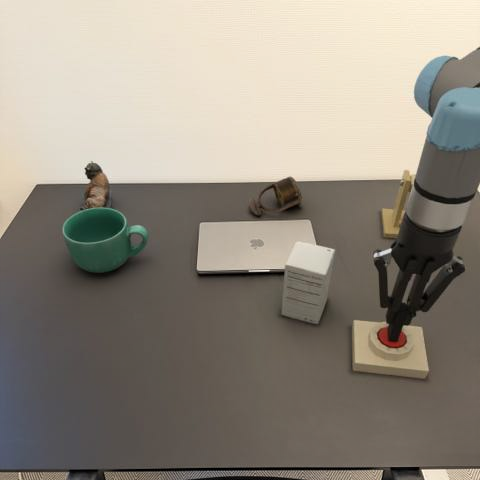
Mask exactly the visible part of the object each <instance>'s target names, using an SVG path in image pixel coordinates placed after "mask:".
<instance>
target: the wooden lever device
mask: <svg viewBox="0 0 480 480" xmlns="http://www.w3.org/2000/svg"><path fill="white" fill-rule="evenodd" d="M410 176H411V174H410V170H408V169H404V170H403V173H402V176H401V179H400V180H399V181H400V182H399V188H398V192H397V196H396V200H395V203H394V206H393V208H381V213H380V214H381V222H382V231H383V232H382V233H383V238H384V239H386V238H387V239H395V240H396V239H397V236H398V233H399V229H400V228H399V227H398V221H399V220H402V219H403V216H404V213H405V212H406V209H404V208H405V207H404V206H405V204H406V200H407V196H408V193H409V192H408V190H409V186H410V183H411V178H410Z"/></svg>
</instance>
